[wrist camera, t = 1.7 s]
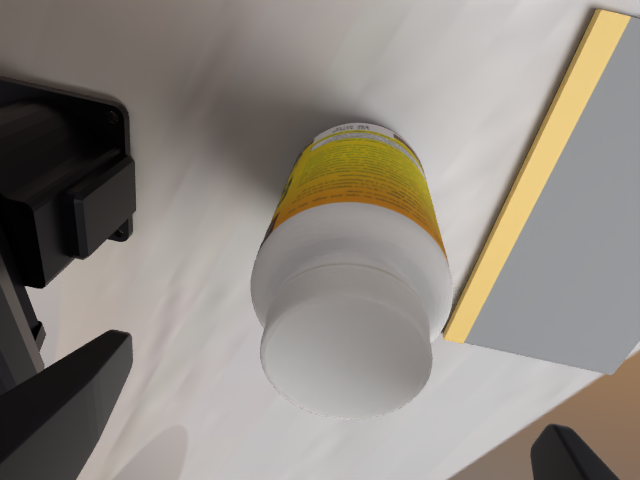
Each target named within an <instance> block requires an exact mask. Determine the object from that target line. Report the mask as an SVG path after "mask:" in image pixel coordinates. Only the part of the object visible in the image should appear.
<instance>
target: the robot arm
mask: <svg viewBox="0 0 640 480" xmlns="http://www.w3.org/2000/svg"><path fill="white" fill-rule="evenodd" d="M111 111H113V112H115V113H116V114H117V116H118V121H116V120H114V119H113V117H112V116H111ZM135 211H136V192H135V162H134V160H133V158H132V157H131V155H130V131H129V115H128V112H127V110H126V109H125V108H124V107H123V106H122V105H121V104H119V103H116V102H112V101H107V100H103V99H98V98H94V97H90V96H85V95H81V94H76V93H72V92H67V91H63V90H59V89H54V88H50V87H45V86H41V85H37V84H32V83H28V82H23V81H19V80H14V79H10V78H6V77H1V76H0V480H76V479H77V477H78V475H79V474H80V472H81V470H82V469H83V467H84V465H85V464H86V462H87V460H88V458H89V457H90V455H91V453H92V452H93V450H94V448H95V446H96V444H97V442H98V441H99V439H100V437H101V434H102V432H103V430H104V428H105V426H106V424H107V422H108V419H109V417H110V415H111V413H112V410H113V408H114V406H115V404H116V402H117V399H118V397H119V395H120V393H121V390H122V388H123V386H124V384H125V382H126V379H127V377H128V375H129V373H130V370H131V367H132V363H133V350H132V336H131V334H130V333H128V332H123V331H119V330H109V331H107V332H105V333H104V334H102V335H100V336H99V337H97V338H95V339H94V340H92V341H90V342H89V343H87V344H85V345H84V346H82V347H80V348H79V349H77V350H75V351H74V352H72V353H70V354H69V355H67V356H66V357H64V358H62V359H61V360H59V361H57V362H56V363H54V364H52V365H51V366H49V367H47V368H46V369H44V363H43V360H42V358H41V355H40V353H39V352H40V349H41V347H42V344H43V341H44V339H45V336H46V332H45V330H44V327H43V325H42V323H41V322H40V321H38V320H37V318H36V315H35V312H34V310H33V307H32V305H31V302H30V299H29V297H28V294H27V291H26V289H25V286H29V287H33V288H40V289H42V288H44V287H45V286H46V285H48V284H49V282H51V281H52V280H53V279H54V278H55V277H56V276H57V275H58V274H59V273H60V272H61V271H62V270H63V269H64V268H66V267H67V266H68V265H69V264H70V263H71V262H72V261H73V260H74V259H75V258H76V259H80V260H84V259H86V258H87V257H89V256H90V255H91V254H92V253H93V252H94V251H95V250H96V249H97V248H98V247H99V246H100V245H101V244H102V243H103V242H104V241H105V240H106V239H109V240H114V241H118V242H124V241H126V240H127V239H128V238H129V237H130V236H131V235H132V233H133V219H132V214H133V213H134V212H135ZM118 228H119V229H121V230H122V231H123V233H121V232H120V231H119V230H118ZM531 464H532V471H533V478H534V480H620V479H619V478H618V477H617V476H616V475H615V474H614V473H613V472H612V471H611V470H610V469H609V468H608V466H607V465H606V464H605V463H604V462H603V461H602V460H601V459H600V458H599V457H598V456H597V455H596V454H595V453H594V452H593V450H592V449H590V447H589V446H588V445H587V444H586V443H585V442H584V441H583V440H582V439H581V438H580V437H579V436H578V435H577V433H576V432H575V431H574V430H573V429H571V428H569V427H567V426H562V425H558V424H549V425H547V426H546V428H545V429H544V430H543V431H542V433H541V434H540V436H539V437H538V438H537V439H536V441H535V442H534V443H533V445H532V448H531Z"/></svg>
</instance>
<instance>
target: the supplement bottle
mask: <svg viewBox="0 0 640 480" xmlns="http://www.w3.org/2000/svg"><path fill="white" fill-rule="evenodd" d="M251 296H252V302H253V306H254V310H255V312H256V315H257V317H258V319H259V321H260V323H261V325H262V326H263V328H264V333H263V336H262V340H261V347H260V358H261V363H262V368H263V370H264V372H265V374H266V376H267V378H268V380H269V381H270V383H271V384H272V385H273V387H274V388H275V389H276V390H277V391H278V392H279V393H280V394H281V395H282V396H283V397H285V398H286V399H287V400H289V401H290V402H291V403H293V404H295V405H297V406H298V407H300V408H302V409H304V410H306V411H309V412H311V413H314V414H317V415H321V416H325V417H331V418H337V419H350V420H355V419H367V418H373V417H378V416H382V415H385V414H388V413H391V412H393V411H395V410H397V409H399V408H401V407H403V406H405V405H406V404H408V403H409V402H410V401H412V400H413V399H414V398H415V397H416V396H417V395H418V394H419V393H420V391H421V390H422V389H423V388H424V386H425V385H426V383H427V381H428V378H429V376H430V373H431V368H432V350H431V343H432V342H433V341H434V340H435V339H436V338H437V337H438V335H439V334H440V332H441V331H442V329H443V327H444V326H445V324H446V321H447V319H448V317H449V314H450V311H451V306H452V299H453V284H452V278H451V273H450V268H449V264H448V260H447V256H446V252H445V249H444V245H443V242H442V238H441V234H440V231H439V227H438V223H437V219H436V215H435V211H434V207H433V204H432V200H431V196H430V193H429V189H428V185H427V182H426V177H425V174H424V171H423V168H422V165H421V162H420V160H419V158H418V157H417V155H416V153H415V152H414V150H413V149H412V148H411V147H410V146H409V144H408V143H407V142H406V141H405V140H404V139H402V138H401V137H400V136H399V135H397V134H396V133H394V132H392V131H390V130H388V129H386V128H384V127H381V126H377V125H373V124H368V123H348V124H343V125H339V126H336V127H333V128H331V129H328V130H326V131H324V132H322V133H321V134H319V135H318V136H316V137H315V138H314V139H313V140H311V141H310V142H309V143H308V144H307V145H306V147H305V148H304V149H303V150H302V152H301V153H300V155H299V156H298V158H297V160H296V162H295V164H294V167H293V169H292V171H291V174H290V176H289V178H288V181H287V184H286V186H285V189H284V191H283V193H282V195H281V198H280V201H279V203H278V206H277V208H276V211H275V213H274V216H273V218H272V221H271V223H270V226H269V228H268V230H267V232H266V235H265V237H264V240H263V242H262V244H261V246H260V249H259V251H258V254H257V257H256V260H255V263H254V267H253V270H252V276H251Z"/></svg>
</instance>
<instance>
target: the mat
mask: <svg viewBox="0 0 640 480" xmlns="http://www.w3.org/2000/svg"><path fill="white" fill-rule="evenodd" d="M443 337H444V340H448V341H453V342H457V343H462V344H463V343H468V344H472V345H477V346H482V347H486V348H491V349H495V350H500V351H504V352H509V353H513V354H518V355H522V356H527V357H532V358H536V359H541V360H545V361H550V362H554V363H559V364H563V365H568V366H572V367H577V368H582V369H586V370H591V371H595V372H600V373H604V374H609V375H613V373H614V372H615V371H616V369H617V368H618V367H619V366H620V365H621V363H622V362H623V361H624V360H625V358H626V357H627V356H628V355H629V353H630V352H631V351H632V350H633V349H634V347H635V346H636V345H637V344H638V342H639V341H640V19H639V18H635V17H631V16H627V15H623V14H618V13H614V12H610V11H605V10H601V9H596V10H595V12H594V15H593V17H592V19H591V21H590V23H589V25H588V27H587V29H586V32H585V34H584V36H583V38H582V40H581V42H580V44H579V46H578V48H577V51H576V53H575V55H574V57H573V59H572V61H571V63H570V65H569V68H568V70H567V72H566V74H565V76H564V78H563V80H562V82H561V85H560V87H559V89H558V91H557V93H556V95H555V97H554V99H553V102H552V104H551V106H550V108H549V110H548V112H547V114H546V116H545V118H544V121H543V123H542V125H541V127H540V129H539V131H538V133H537V135H536V138H535V140H534V142H533V144H532V146H531V148H530V150H529V152H528V155H527V157H526V159H525V161H524V163H523V165H522V167H521V169H520V172H519V174H518V176H517V178H516V180H515V182H514V184H513V186H512V188H511V191H510V193H509V195H508V197H507V199H506V201H505V203H504V205H503V208H502V210H501V212H500V214H499V216H498V218H497V220H496V222H495V225H494V227H493V229H492V231H491V233H490V235H489V237H488V239H487V242H486V244H485V246H484V248H483V250H482V252H481V254H480V256H479V258H478V261H477V263H476V265H475V267H474V269H473V271H472V273H471V275H470V278H469V280H468V282H467V284H466V286H465V288H464V290H463V292H462V295H461V297H460V299H459V301H458V303H457V305H456V307H455V309H454V312H453V314H452V316H451V318H450V320H449V322H448V324H447V326H446V328H445V331H444V333H443Z"/></svg>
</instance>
